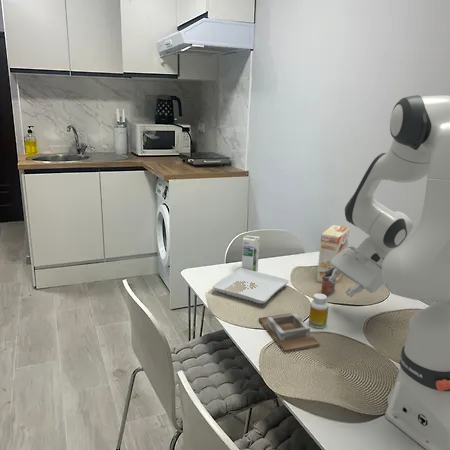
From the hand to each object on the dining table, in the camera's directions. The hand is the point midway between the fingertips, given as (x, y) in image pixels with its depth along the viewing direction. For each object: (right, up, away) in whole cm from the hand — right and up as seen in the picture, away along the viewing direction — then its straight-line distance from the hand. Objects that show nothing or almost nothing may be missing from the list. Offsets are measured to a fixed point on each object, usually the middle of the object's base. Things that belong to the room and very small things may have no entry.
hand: (339, 288), depth 129 cm
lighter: (+2, -5, +22) cm, 23 cm away
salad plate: (-26, -5, +23) cm, 35 cm away
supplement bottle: (-6, -12, +1) cm, 13 cm away
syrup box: (-25, +1, +39) cm, 47 cm away
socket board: (-17, -13, -4) cm, 21 cm away
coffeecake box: (+7, -1, +36) cm, 37 cm away
